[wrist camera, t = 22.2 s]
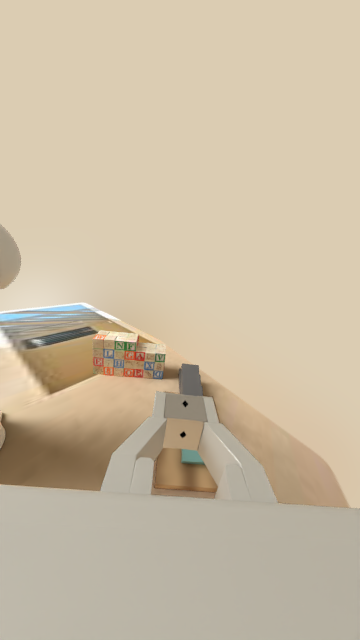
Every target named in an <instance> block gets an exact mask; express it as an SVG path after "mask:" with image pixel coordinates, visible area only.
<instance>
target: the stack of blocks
mask: <svg viewBox="0 0 360 640" xmlns="http://www.w3.org/2000/svg"><path fill="white" fill-rule="evenodd" d="M138 339H139V334H132V333H122V332H110V331H99V332H98V333H97V335H96V336H95V337H94V338H93V364H94V366H93V368H94V374H102V375H112V376H128V377H143V378H153V379H162V378H163V371H164V363H165V353H166V345H160V344H151V343H138Z"/></svg>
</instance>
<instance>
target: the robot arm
mask: <svg viewBox="0 0 360 640" xmlns="http://www.w3.org/2000/svg"><path fill="white" fill-rule="evenodd" d="M20 266H21V257H20V252H19V249H18V247H17V244H16V243H15V241H14V239H13V238H12V236H11V235H10V234H9V233H8V231H7V230H6V229H5V228H4V227H3V226H2V225H0V289H4V288H6V287H8V286H9V285H10V284H11V283H12V282H13V281H14V280H15V279H16V277H17V275H18V273H19V270H20ZM1 419H2V412H1V410H0V449H1V447H2V445H3V443H4V440H5V429H4V427H3V426H2V424H1ZM163 448H177V449H187V450H196V451H198V453H199V455H200V457H201V458H202V460H203V462H204V464H205V465H206V467H207V469H208V470H209V472H210V474H211V476H212V477H213V479H214V481H215V482H216V484H217V486H218V489H217V492H216V495H215V498H214V499H209V498H194V497H179V496H164V495H151V488H152V478H153V468H154V461H155V460H156V458H157V457H158V455H159V454H160V452H161V450H162V449H163ZM0 640H360V509H357V508H343V507H328V506H313V505H298V504H284V503H278V502H277V499H276V497H275V494H274V492H273V490H272V487H271V485H270V482H269V480H268V477H267V475H266V473H265V470H264V468H263V466H262V465H261V464H260V463H259V462H258V461H257V460H256V459H255V457H254V456H253V455H252V454H251V453H250V452H249V451H248V450H247V449H246V448H245V447H244V446H243V445H242V444H241V443H240V442H239V441H238V440H237V439H236V437H235V436H234V435H233V434H232V433H231V432H230V431H229V430H228V429H227V428H226V427H225V426H224V425H223V424H221V423H219V420H218V416H217V412H216V408H215V405H214V401H213V398H212V397H205V396H193V395H183V394H175V393H168V392H166V393H165V392H158V391H156V394H155V401H154V408H153V414H152V417H148V418H147V419H146V420H145V421H144V422H143V423H142V424H141V425H140V426H139V427H138V428H137V429H136V430H135V431H134V432H133V433H132V434H131V435H130V436H129V437H128V438H127V439H126V440H125V441H124V442H123V443H122V444H121V445H120V446H119V447H118V448H117V449H116V450H115V451H114V452H113V453H112V456H111V459H110V462H109V465H108V468H107V471H106V474H105V477H104V480H103V483H102V486H101V489H100V491H90V490H76V489H61V488H46V487H31V486H17V485H2V484H0Z"/></svg>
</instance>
